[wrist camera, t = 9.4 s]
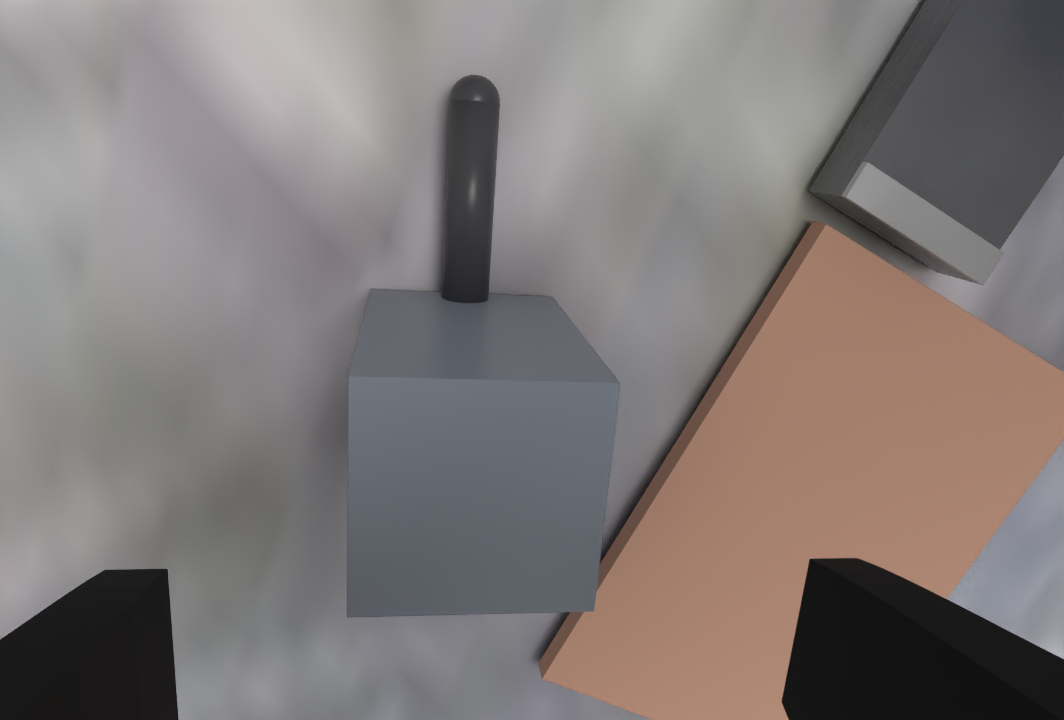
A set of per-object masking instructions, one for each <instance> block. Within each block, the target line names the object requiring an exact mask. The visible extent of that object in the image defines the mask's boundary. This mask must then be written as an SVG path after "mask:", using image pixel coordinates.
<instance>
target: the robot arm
mask: <svg viewBox="0 0 1064 720" xmlns="http://www.w3.org/2000/svg"><path fill="white" fill-rule="evenodd" d="M782 705H783V707H784V709H785V712H786V714H787V717H788V719H789V720H1064V659H1062V658H1060V657H1058V656H1056V655H1054V654H1052V653H1050V652H1048V651H1046V650H1044V649H1042V648H1040V647H1038V646H1036V645H1034V644H1032V643H1030V642H1029V641H1027V640H1025V639H1023V638H1021V637H1019V636H1017V635H1015V634H1013V633H1011V632H1009V631H1007V630H1005V629H1003V628H1001V627H999V626H997V625H996V624H994V623H992V622H990V621H988V620H986V619H984V618H982V617H980V616H978V615H976V614H974V613H972V612H970V611H968V610H966V609H965V608H963V607H961V606H959V605H957V604H955V603H953V602H951V601H949V600H947V599H945V598H943V597H941V596H939V595H937V594H935V593H933V592H931V591H929V590H927V589H925V588H923V587H921V586H919V585H917V584H915V583H913V582H911V581H909V580H907V579H905V578H903V577H901V576H899V575H896V574H894V573H892V572H890V571H888V570H886V569H883V568H881V567H879V566H876V565H874V564H871V563H869V562H866V561H864V560H861V559H859V558H819V559H809V565H808V570H807V575H806V580H805V585H804V590H803V595H802V600H801V605H800V610H799V615H798V620H797V625H796V631H795V636H794V641H793V646H792V651H791V656H790V661H789V666H788V671H787V676H786V681H785V686H784V691H783V697H782ZM0 720H178V708H177V694H176V680H175V666H174V653H173V639H172V625H171V611H170V597H169V584H168V570H167V569H134V570H104V571H102V572H101V573H99V574H97V575H96V576H94V577H92V578H91V579H89V580H87V581H86V582H84V583H83V584H81V585H80V586H78V587H77V588H75V589H74V590H72V591H71V592H69V593H68V594H66V595H65V596H63V597H62V598H60V599H59V600H57V601H56V602H54V603H53V604H51V605H50V606H48V607H47V608H46V609H44V610H43V611H41V612H40V613H38V614H37V615H35V616H34V617H32V618H31V619H30V620H28V621H27V622H25V623H24V624H22V625H21V626H19V627H18V628H17V629H15V630H14V631H12V632H11V633H9V634H8V635H6V636H5V637H4V638H2V639H1V640H0Z"/></svg>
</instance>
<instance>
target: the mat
mask: <svg viewBox="0 0 1064 720" xmlns="http://www.w3.org/2000/svg"><path fill="white" fill-rule="evenodd" d="M1063 440H1064V372H1062V371H1061V370H1059V369H1058V368H1056V367H1054V366H1053V365H1051V364H1050V363H1048V362H1046V361H1045V360H1043V359H1042V358H1040V357H1038V356H1037V355H1035V354H1034V353H1032V352H1030V351H1029V350H1027V349H1026V348H1024V347H1022V346H1021V345H1019V344H1018V343H1016V342H1014V341H1013V340H1011V339H1010V338H1008V337H1006V336H1005V335H1003V334H1002V333H1000V332H998V331H997V330H995V329H994V328H992V327H990V326H989V325H987V324H986V323H984V322H982V321H981V320H979V319H978V318H976V317H974V316H973V315H971V314H970V313H968V312H966V311H965V310H963V309H962V308H960V307H958V306H957V305H955V304H954V303H952V302H950V301H949V300H947V299H946V298H944V297H942V296H941V295H939V294H938V293H936V292H934V291H933V290H931V289H930V288H928V287H926V286H925V285H923V284H922V283H920V282H918V281H917V280H915V279H914V278H912V277H910V276H909V275H907V274H906V273H904V272H902V271H901V270H899V269H898V268H896V267H894V266H893V265H891V264H890V263H888V262H886V261H885V260H883V259H882V258H880V257H878V256H877V255H875V254H873V253H872V252H870V251H869V250H867V249H865V248H864V247H862V246H861V245H859V244H857V243H856V242H854V241H853V240H851V239H849V238H848V237H846V236H845V235H843V234H841V233H840V232H838V231H837V230H835V229H833V228H832V227H830V226H829V225H827V224H824V223H820V222H816V221H813V222H812V224H811V225H810V227H809V228H808V230H807V232H806V233H805V235H804V236H803V238H802V240H801V241H800V243H799V245H798V246H797V248H796V249H795V251H794V253H793V254H792V256H791V257H790V259H789V261H788V262H787V264H786V265H785V267H784V269H783V270H782V272H781V273H780V275H779V277H778V278H777V280H776V282H775V283H774V285H773V286H772V288H771V290H770V291H769V293H768V294H767V296H766V298H765V299H764V301H763V302H762V304H761V306H760V307H759V309H758V311H757V312H756V314H755V315H754V317H753V319H752V320H751V322H750V323H749V325H748V327H747V328H746V330H745V331H744V333H743V335H742V336H741V338H740V339H739V341H738V343H737V344H736V346H735V348H734V349H733V351H732V352H731V354H730V356H729V357H728V359H727V360H726V362H725V364H724V365H723V367H722V368H721V370H720V372H719V373H718V375H717V377H716V378H715V380H714V381H713V383H712V385H711V386H710V388H709V389H708V391H707V393H706V394H705V396H704V397H703V399H702V401H701V402H700V404H699V406H698V407H697V409H696V410H695V412H694V414H693V415H692V417H691V418H690V420H689V422H688V423H687V425H686V426H685V428H684V430H683V431H682V433H681V434H680V436H679V438H678V439H677V441H676V443H675V444H674V446H673V447H672V449H671V451H670V452H669V454H668V455H667V457H666V459H665V460H664V462H663V463H662V465H661V467H660V468H659V470H658V472H657V473H656V475H655V476H654V478H653V480H652V481H651V483H650V484H649V486H648V488H647V489H646V491H645V492H644V494H643V496H642V497H641V499H640V500H639V502H638V504H637V505H636V507H635V509H634V510H633V512H632V513H631V515H630V517H629V518H628V520H627V521H626V523H625V525H624V526H623V528H622V529H621V531H620V533H619V534H618V536H617V538H616V539H615V541H614V542H613V544H612V546H611V547H610V549H609V550H608V552H607V554H606V555H605V557H604V558H603V560H602V562H601V563H600V565H599V573H598V582H597V591H596V600H595V608H594V611H592V612H570V613H569V615H568V616H567V618H566V620H565V621H564V623H563V624H562V626H561V628H560V629H559V631H558V633H557V634H556V636H555V637H554V639H553V641H552V642H551V644H550V645H549V647H548V649H547V650H546V652H545V653H544V655H543V657H542V658H541V660H540V662H539V667H540V671H541V676H542V679H544V680H547V681H550V682H552V683H555V684H558V685H560V686H563V687H566V688H569V689H571V690H574V691H577V692H579V693H582V694H585V695H587V696H590V697H593V698H595V699H598V700H601V701H604V702H606V703H609V704H612V705H614V706H617V707H620V708H622V709H625V710H628V711H631V712H633V713H636V714H639V715H641V716H644V717H647V718H649V719H652V720H789V719H788V717H787V714H786V712H785V709H784V707H783V705H782V697H783V691H784V686H785V681H786V676H787V671H788V666H789V661H790V656H791V651H792V646H793V641H794V636H795V631H796V625H797V620H798V615H799V610H800V605H801V600H802V595H803V590H804V585H805V580H806V575H807V570H808V565H809V559H819V558H859V559H861V560H864V561H866V562H869V563H871V564H874V565H876V566H879V567H881V568H883V569H886V570H888V571H890V572H892V573H894V574H896V575H899V576H901V577H903V578H905V579H907V580H909V581H911V582H913V583H915V584H917V585H919V586H921V587H923V588H925V589H927V590H929V591H931V592H933V593H935V594H937V595H939V596H941V597H943V598H945V599H947V597H948V596H949V595H950V593H951V592H952V591H953V589H954V588H955V587H956V585H957V584H958V582H959V581H960V580H961V578H962V577H963V576H964V574H965V573H966V572H967V570H968V569H969V568H970V566H971V565H972V563H973V562H974V561H975V559H976V558H977V557H978V555H979V554H980V553H981V551H982V550H983V548H984V547H985V546H986V544H987V543H988V542H989V540H990V539H991V538H992V536H993V535H994V533H995V532H996V531H997V529H998V528H999V527H1000V525H1001V524H1002V523H1003V521H1004V520H1005V519H1006V517H1007V516H1008V514H1009V513H1010V512H1011V510H1012V509H1013V508H1014V506H1015V505H1016V504H1017V502H1018V501H1019V499H1020V498H1021V497H1022V495H1023V494H1024V493H1025V491H1026V490H1027V489H1028V487H1029V486H1030V485H1031V483H1032V482H1033V480H1034V479H1035V478H1036V476H1037V475H1038V474H1039V472H1040V471H1041V470H1042V468H1043V467H1044V465H1045V464H1046V463H1047V461H1048V460H1049V459H1050V457H1051V456H1052V455H1053V453H1054V452H1055V451H1056V449H1057V448H1058V446H1059V445H1060V444H1061V442H1062V441H1063Z"/></svg>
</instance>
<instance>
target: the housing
mask: <svg viewBox="0 0 1064 720" xmlns="http://www.w3.org/2000/svg"><path fill="white" fill-rule="evenodd" d="M1063 155H1064V0H925V2H924V4H923V5H922V7H921V8H920V10H919V12H918V13H917V15H916V17H915V18H914V20H913V21H912V23H911V25H910V26H909V28H908V30H907V31H906V33H905V34H904V36H903V38H902V39H901V41H900V43H899V44H898V46H897V47H896V49H895V51H894V52H893V54H892V56H891V57H890V59H889V60H888V62H887V64H886V65H885V67H884V69H883V70H882V72H881V73H880V75H879V77H878V78H877V80H876V82H875V83H874V85H873V87H872V88H871V90H870V91H869V93H868V95H867V96H866V98H865V100H864V101H863V103H862V104H861V106H860V108H859V109H858V111H857V113H856V114H855V116H854V117H853V119H852V121H851V122H850V124H849V126H848V127H847V129H846V130H845V132H844V134H843V135H842V137H841V139H840V140H839V142H838V143H837V145H836V147H835V148H834V150H833V152H832V153H831V155H830V156H829V158H828V160H827V161H826V163H825V165H824V166H823V168H822V169H821V171H820V173H819V174H818V176H817V178H816V179H815V181H814V182H813V184H812V186H811V187H810V189H809V191H810V192H811V193H813V194H814V195H816V196H818V197H819V198H821V199H822V200H824V201H825V202H827V203H829V204H830V205H832V206H833V207H835V208H837V209H838V210H840V211H841V212H843V213H844V214H846V215H848V216H849V217H851V218H852V219H854V220H855V221H857V222H859V223H860V224H862V225H863V226H865V227H866V228H868V229H870V230H871V231H873V232H874V233H876V234H877V235H879V236H881V237H882V238H884V239H885V240H887V241H889V242H890V243H892V244H893V245H895V246H896V247H898V248H900V249H901V250H903V251H904V252H906V253H907V254H909V255H911V256H912V257H914V258H915V259H917V260H918V261H920V262H922V263H923V264H925V265H926V266H928V267H929V268H931V269H933V270H934V271H936V272H939V273H942V274H946V275H949V276H953V277H956V278H960V279H963V280H967V281H970V282H974V283H977V284H981V285H983V284H984V283H985V281H986V280H987V278H988V277H989V276H990V274H991V273H992V271H993V270H994V268H995V267H996V265H997V264H998V262H999V261H1000V259H1001V258H1002V256H1003V255H1004V254H1005V253H1004V252H1002V251H1001V250H1000V248H1001V247H1002V245H1003V244H1004V242H1005V241H1006V239H1007V238H1008V236H1009V235H1010V234H1011V232H1012V231H1013V229H1014V228H1015V226H1016V225H1017V223H1018V222H1019V220H1020V219H1021V217H1022V216H1023V214H1024V213H1025V211H1026V210H1027V208H1028V207H1029V205H1030V204H1031V203H1032V201H1033V200H1034V198H1035V197H1036V195H1037V194H1038V192H1039V191H1040V189H1041V188H1042V186H1043V185H1044V183H1045V182H1046V180H1047V179H1048V177H1049V176H1050V175H1051V173H1052V172H1053V170H1054V169H1055V167H1056V166H1057V164H1058V163H1059V161H1060V160H1061V158H1062V157H1063Z"/></svg>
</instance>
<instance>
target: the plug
mask: <svg viewBox="0 0 1064 720" xmlns="http://www.w3.org/2000/svg"><path fill="white" fill-rule="evenodd" d="M499 109H500V98H499V94H498V91H497V89H496V87H495V86H494V84H493V83H492V82H491V81H490V80H488V79H487V78H485V77H483V76H479V75H469V76H466V77H464V78H462V79H460V80H459V81H458V82H457V83H456V84H455V85H454V87H453V89H452V91H451V94H450V102H449V126H448V150H447V174H446V198H445V221H444V245H443V269H442V292H430V291H407V290H384V289H371V290H370V294H369V298H368V302H367V306H366V310H365V314H364V318H363V321H362V325H361V329H360V333H359V337H358V341H357V345H356V349H355V353H354V357H353V361H352V364H351V368H350V372H349V376H348V520H347V617H384V616H425V615H467V614H509V613H550V612H592V611H594V608H595V600H596V591H597V582H598V573H599V564H600V556H601V547H602V538H603V529H604V521H605V512H606V503H607V494H608V485H609V477H610V468H611V459H612V450H613V442H614V433H615V424H616V415H617V406H618V398H619V389H620V382H619V381H618V380H617V378H616V377H615V376H614V375H613V373H612V372H611V371H610V370H609V368H608V367H607V366H606V364H605V363H604V362H603V361H602V359H601V358H600V357H599V356H598V354H597V353H596V352H595V350H594V349H593V348H592V347H591V345H590V344H589V343H588V341H587V340H586V339H585V338H584V336H583V335H582V334H581V333H580V331H579V330H578V329H577V327H576V326H575V325H574V324H573V322H572V321H571V320H570V318H569V317H568V316H567V315H566V313H565V312H564V311H563V310H562V308H561V307H560V306H559V304H558V303H557V302H556V301H555V299H554V298H553V297H546V296H523V295H500V294H488V293H489V276H490V259H491V243H492V226H493V209H494V193H495V176H496V159H497V143H498V126H499Z"/></svg>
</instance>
